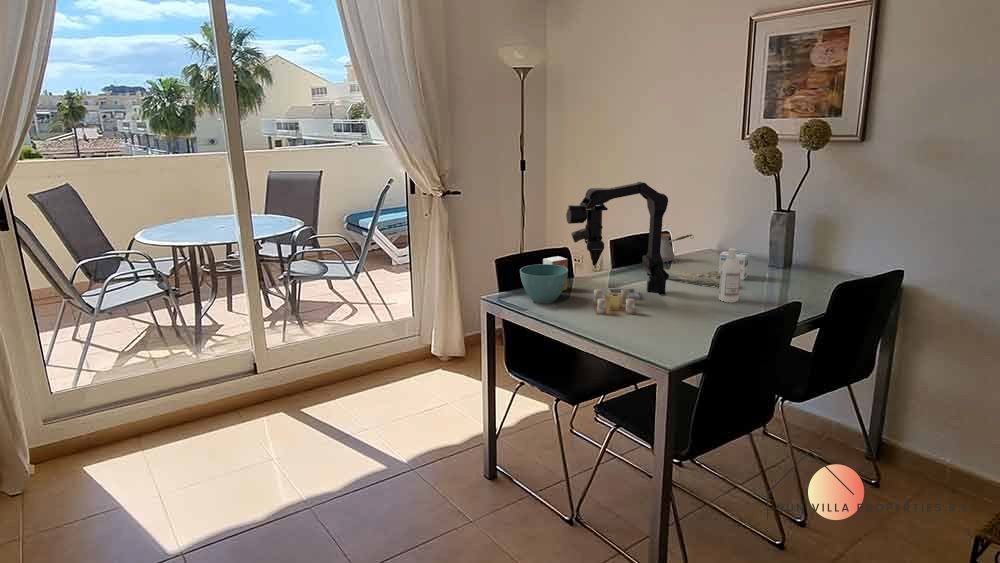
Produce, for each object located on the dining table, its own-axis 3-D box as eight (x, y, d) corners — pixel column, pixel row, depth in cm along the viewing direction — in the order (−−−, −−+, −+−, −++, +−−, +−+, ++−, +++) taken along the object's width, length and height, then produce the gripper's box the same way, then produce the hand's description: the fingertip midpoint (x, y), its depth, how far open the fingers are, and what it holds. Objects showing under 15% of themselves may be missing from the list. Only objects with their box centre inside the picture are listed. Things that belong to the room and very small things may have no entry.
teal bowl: (533, 310, 227) (533, 277, 224) (512, 297, 243) (512, 267, 240) (576, 303, 234) (576, 272, 231) (553, 291, 250) (553, 262, 247)
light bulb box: (747, 277, 267) (749, 253, 264) (743, 281, 262) (746, 256, 259) (721, 274, 273) (723, 250, 270) (717, 278, 267) (719, 253, 264)
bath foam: (742, 301, 234) (746, 249, 229) (728, 304, 231) (732, 251, 226) (728, 296, 240) (732, 246, 235) (714, 299, 237) (718, 248, 232)
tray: (635, 293, 246) (635, 288, 246) (640, 301, 236) (640, 296, 235) (607, 293, 247) (607, 288, 246) (610, 301, 236) (611, 296, 236)
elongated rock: (661, 276, 277) (650, 282, 270) (660, 264, 276) (650, 270, 269) (740, 285, 255) (731, 291, 248) (740, 272, 254) (731, 279, 246)
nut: (621, 305, 228) (621, 292, 227) (623, 310, 223) (623, 296, 222) (603, 305, 229) (604, 292, 227) (605, 310, 223) (605, 296, 222)
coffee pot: (644, 260, 299) (646, 230, 295) (658, 257, 306) (660, 227, 302) (683, 268, 284) (686, 236, 280) (697, 264, 291) (699, 232, 287)
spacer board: (629, 303, 234) (629, 288, 232) (636, 317, 218) (637, 301, 217) (591, 303, 234) (592, 288, 233) (596, 317, 219) (596, 301, 217)
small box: (551, 293, 248) (552, 261, 245) (542, 289, 253) (542, 258, 250) (567, 289, 253) (568, 258, 249) (557, 286, 258) (558, 255, 254)
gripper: (571, 218, 243) (571, 257, 247) (573, 227, 225) (573, 268, 229) (600, 218, 242) (599, 257, 247) (604, 226, 225) (603, 268, 229)
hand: (593, 262), depth 238 cm, fingers open, 9 cm apart
